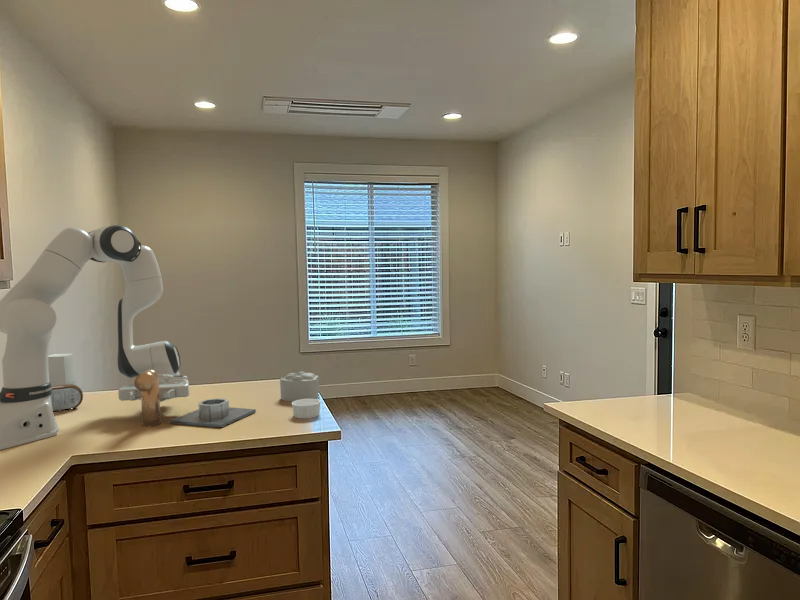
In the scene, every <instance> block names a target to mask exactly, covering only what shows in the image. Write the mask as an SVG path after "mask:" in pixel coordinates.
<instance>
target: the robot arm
mask: <svg viewBox="0 0 800 600" xmlns="http://www.w3.org/2000/svg"><path fill="white" fill-rule="evenodd" d="M89 260H91V261H93V262H96V263H113V262H114V263H116V264H118V265H119V266H120V268H121V270H122V272H123V279H124V282H125V292H124V295H123V297H122V298H121V299H119V301H118V304H117V343H118V344H117V362H116V363H117V365H116V366H117V368H118V371H119V373H120V374H122V375H124V376H125V377H127V378H129V379H132V378H136V377H137V376H139V375H140V374H141V373H143V372H144V371H146V370H154V371H155V372H156V373H157V374H158V379H159V398H160V403H161V402H164V401H168V400H171V399H175V398H186V397H189V396H190V383H189V379H188V376H187V375H180V371H179V370H180V368H181V356H180V353H179V350H178V348H177V346H176V345H174V344H173V343H172V342H171V341H168V340H162V341H155V342H152V343H147V344H141V345H134V330H133V329H134V328H133V327H134V326H133V325H134V324H133V321H134V319H135V317H136V316H137V315H138V314H139V313H140V312H142V311H144V310H145V309H148V308H149V307H151V306H153V305H154V304H155V303H157V302H158V301H159V300H160V299H161V297H162V295H163V293H164V285H163V284H164V283H163V279H162V274H161V269H160V266H159V263H158V260H157V258H156V255H155V253H154V251H153V249H152V248H150V247H149V246H147V245H144V244H142V243H141V242H140V241H139V239H137V236H136V234H135V233H134V232H133V231H132V230H131V229H130V228H128V227H126V226H123V225H120V224H116V225H115V224H114V225H109V226H102V227H100V228H99V227H98V228H97V229H95V230H91V231H90V232H86V231H85V230H83V229H82V228H78V227H73V226H69V227H66V228H64V229H62V231H60V232H59V233H58V234H57V235H56V236H55V237H54V238H53V239H52V240H51V241H50V242H49V243H48V245H47V246H46V247H45V249H44V250H43V251H42V252H41V254H40V255H39V257H38V258H37V259H36V261H35V262H34V264H32V266H31V267H30V269H29V270H28V271H27V272H26V273H25V275H24V276H23V277H22V278H21V279H20V280H19V281H18V282H17V283H16V284H14V286H13V287H11V289H10V290H9V291H8V292H7V293H6V294H5V295H4V296H3V297H2V298H1V299H0V332H1V333H3V335H4V334H5V335H6V345H5V350H4V354H3V356H2V359H1V366H2V367H1V368H2V381H3V383H2V384H3V386H2V388H1V390H0V451H1V450H5V449H9V448H13V447H16V446H20V445H23V444H28V443H33V442H35V441H39V440H42V439H46V438H50V437H54V436H56V435H58V433H57V432H58V431H59V429H60V427H59V425H58V423H57V421H56V418H55V412H53V408H52V402H51V394H52V387H51V382H50V381H49V368H48V356H49V349H50V343H51V339H52V333H53V332H52V331H53V329H54V327H55V325H56V323H57V313H56V311H55V309H54V308H53V307H52V306H51V305H53V304H54V302H56V301H57V300H58V299H59V298H61V297H62V296H63V295H65V293H67V292H68V290H69V288H70V287H71V285H72V284H73V283H74V282H75V280H76V278H77V277H78V275H79V274H80V272H81V271H82V270H83V268H84V266H85V265H86V263H87V262H88V261H89ZM117 391H118V400H119V401H122V402H123V401H124V402H125V401H129V402H130V401H137V400H138V401H141V391H139V390H138V389H137V388H136V387H135V385H134V383H133V384H127V385H124V386H122V387H120V388H118V390H117Z"/></svg>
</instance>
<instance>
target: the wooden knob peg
mask: <svg viewBox="0 0 800 600" xmlns="http://www.w3.org/2000/svg"><path fill="white" fill-rule="evenodd" d="M133 384H134V385H135V387H136V388H137V389H138V390H139V391H141V400H140V401H141V418H142V419H141V421H142V423H141V424H142V427H144V426H145V427H146V428H149V427H148V426H152V427H156V426H160V425H161V424H162V421H161V404H160V403H161V402H160V398H159V379H158V374H157V373H156V372H155V371H154V370H146V371H144V372H143V373H141V374H140V375H139V376H137V377H135V379H134V382H133Z"/></svg>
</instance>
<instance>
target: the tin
mask: <svg viewBox="0 0 800 600" xmlns="http://www.w3.org/2000/svg"><path fill="white" fill-rule="evenodd" d="M51 387H52V394H51V402H52V408H53V411H57V412H60V411H59V410H65V409H71V408H75V409H77V408H78V407H79V406H80V405H81V404H82V402H83V399H84V394H83V393H84V392H83V390H82V389H81V388H80V387H79V386H78V385H77V386H76V385H73V384H67V385H58V386H51ZM65 411H66V410H65Z"/></svg>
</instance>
